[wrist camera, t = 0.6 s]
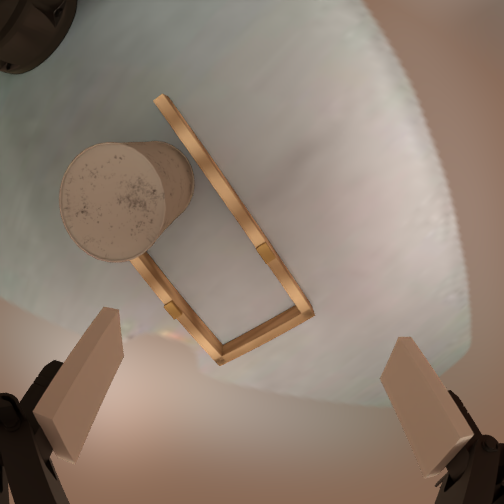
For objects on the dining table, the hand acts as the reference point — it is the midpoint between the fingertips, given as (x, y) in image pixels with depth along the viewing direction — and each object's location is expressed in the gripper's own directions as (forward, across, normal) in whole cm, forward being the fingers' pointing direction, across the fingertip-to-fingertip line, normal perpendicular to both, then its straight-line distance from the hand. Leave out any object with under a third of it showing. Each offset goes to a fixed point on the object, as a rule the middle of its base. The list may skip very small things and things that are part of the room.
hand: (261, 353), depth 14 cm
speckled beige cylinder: (+24, -12, +3) cm, 26 cm away
